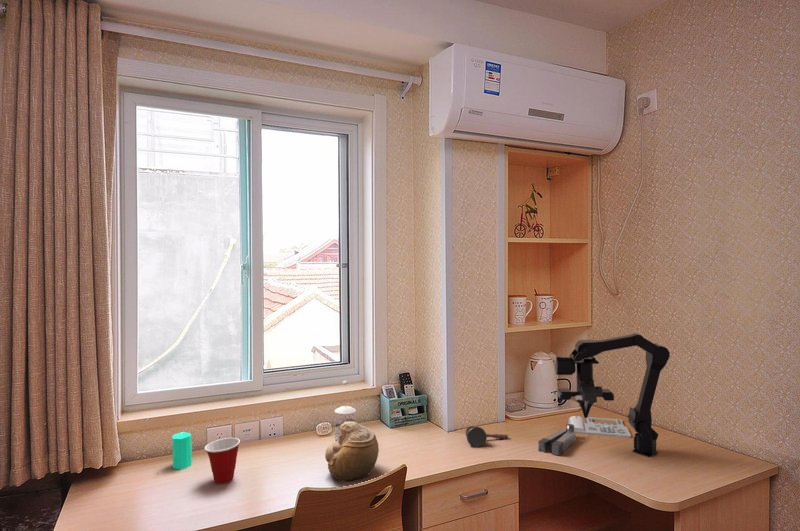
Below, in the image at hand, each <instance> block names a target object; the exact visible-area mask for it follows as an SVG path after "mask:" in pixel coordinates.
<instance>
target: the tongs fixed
mask: <svg viewBox="0 0 800 531" xmlns="http://www.w3.org/2000/svg"><path fill="white" fill-rule="evenodd" d="M565 426H566V427H565V428H566V429H564V428H560V429H558V430H556V431H555V432H553V433H552V434H549V435H547V436H545V437H544V438H541V439H539V440H538V452H542V453H547V452H549V451H551V450H552V443H554V442H555V441H557V440H558V439H559V438H560V437H562V436H563V435H564V434H565V433H566V432H568V431H569V430H571V431H574V425H573V424H568V423H567V424H566V425H565Z"/></svg>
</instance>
